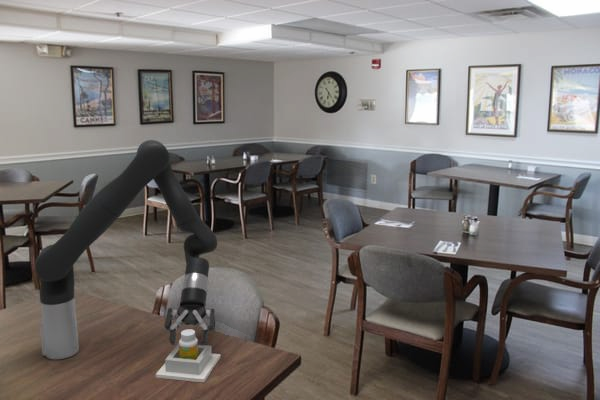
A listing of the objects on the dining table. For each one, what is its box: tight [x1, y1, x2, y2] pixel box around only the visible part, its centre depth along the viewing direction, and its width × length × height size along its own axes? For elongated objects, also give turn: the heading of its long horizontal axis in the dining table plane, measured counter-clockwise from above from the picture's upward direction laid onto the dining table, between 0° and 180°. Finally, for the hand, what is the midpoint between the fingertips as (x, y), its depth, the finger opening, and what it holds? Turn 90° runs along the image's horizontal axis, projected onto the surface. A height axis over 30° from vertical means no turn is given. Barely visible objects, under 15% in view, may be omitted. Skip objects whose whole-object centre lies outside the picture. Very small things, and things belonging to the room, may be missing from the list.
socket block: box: [155, 343, 221, 383], centre depth 146 cm, size 14×14×4 cm
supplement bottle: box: [178, 328, 199, 360], centre depth 145 cm, size 5×5×10 cm
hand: (187, 344), depth 144 cm, fingers open, 8 cm apart
